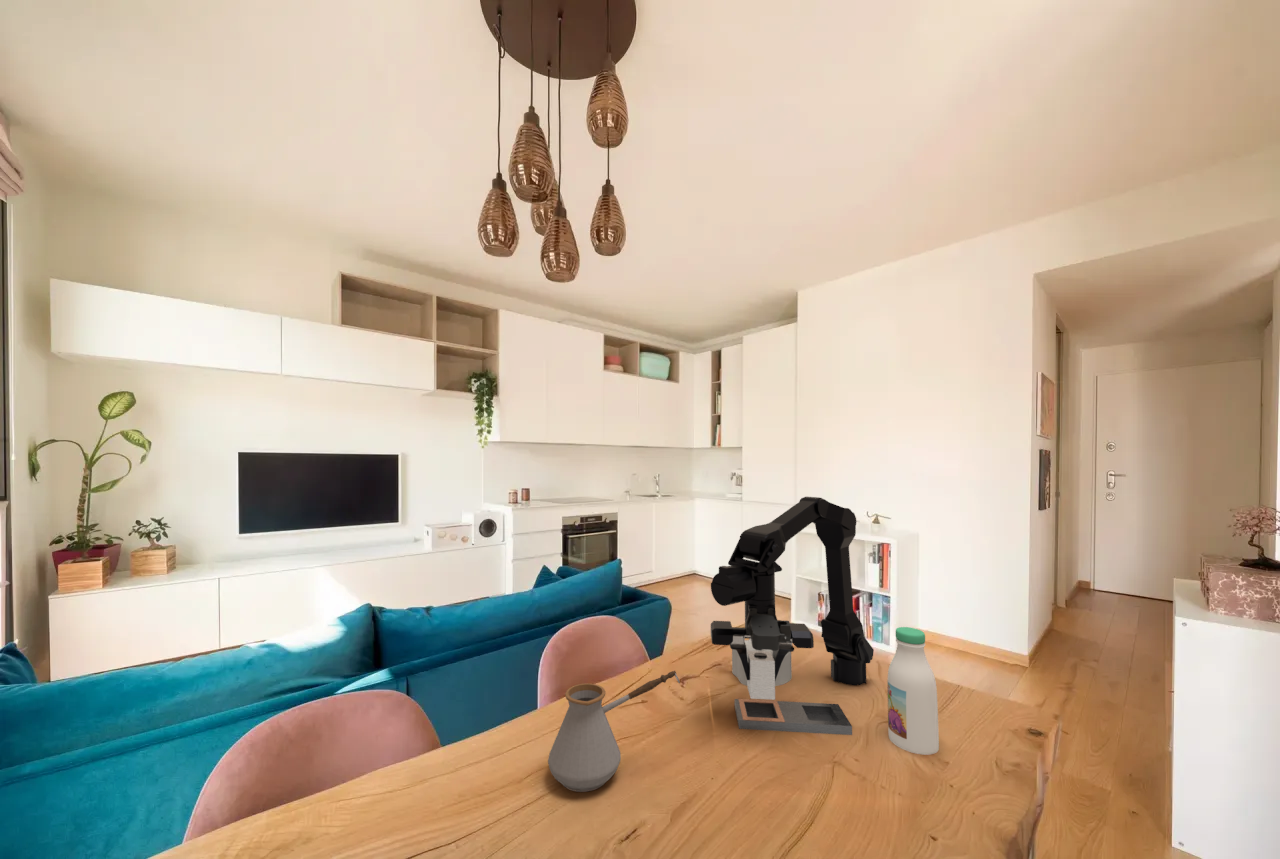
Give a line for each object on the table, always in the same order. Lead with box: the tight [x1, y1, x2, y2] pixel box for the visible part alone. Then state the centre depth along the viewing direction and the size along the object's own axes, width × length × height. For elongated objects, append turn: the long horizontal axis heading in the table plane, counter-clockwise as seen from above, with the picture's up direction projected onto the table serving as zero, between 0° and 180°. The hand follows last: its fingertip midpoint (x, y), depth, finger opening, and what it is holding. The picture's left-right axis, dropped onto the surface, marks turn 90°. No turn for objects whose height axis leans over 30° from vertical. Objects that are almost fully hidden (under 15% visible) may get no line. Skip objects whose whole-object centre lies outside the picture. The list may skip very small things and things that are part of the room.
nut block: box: [747, 651, 776, 701], centre depth 94 cm, size 4×4×7 cm
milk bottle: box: [887, 626, 940, 756], centre depth 86 cm, size 8×8×20 cm
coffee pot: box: [547, 670, 681, 793], centre depth 79 cm, size 21×12×15 cm, turn 101°
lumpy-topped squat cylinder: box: [731, 639, 793, 687], centre depth 112 cm, size 10×13×9 cm
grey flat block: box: [734, 698, 853, 736], centre depth 93 cm, size 20×8×3 cm, turn 85°
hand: (760, 679), depth 94 cm, fingers closed on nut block, 4 cm apart
